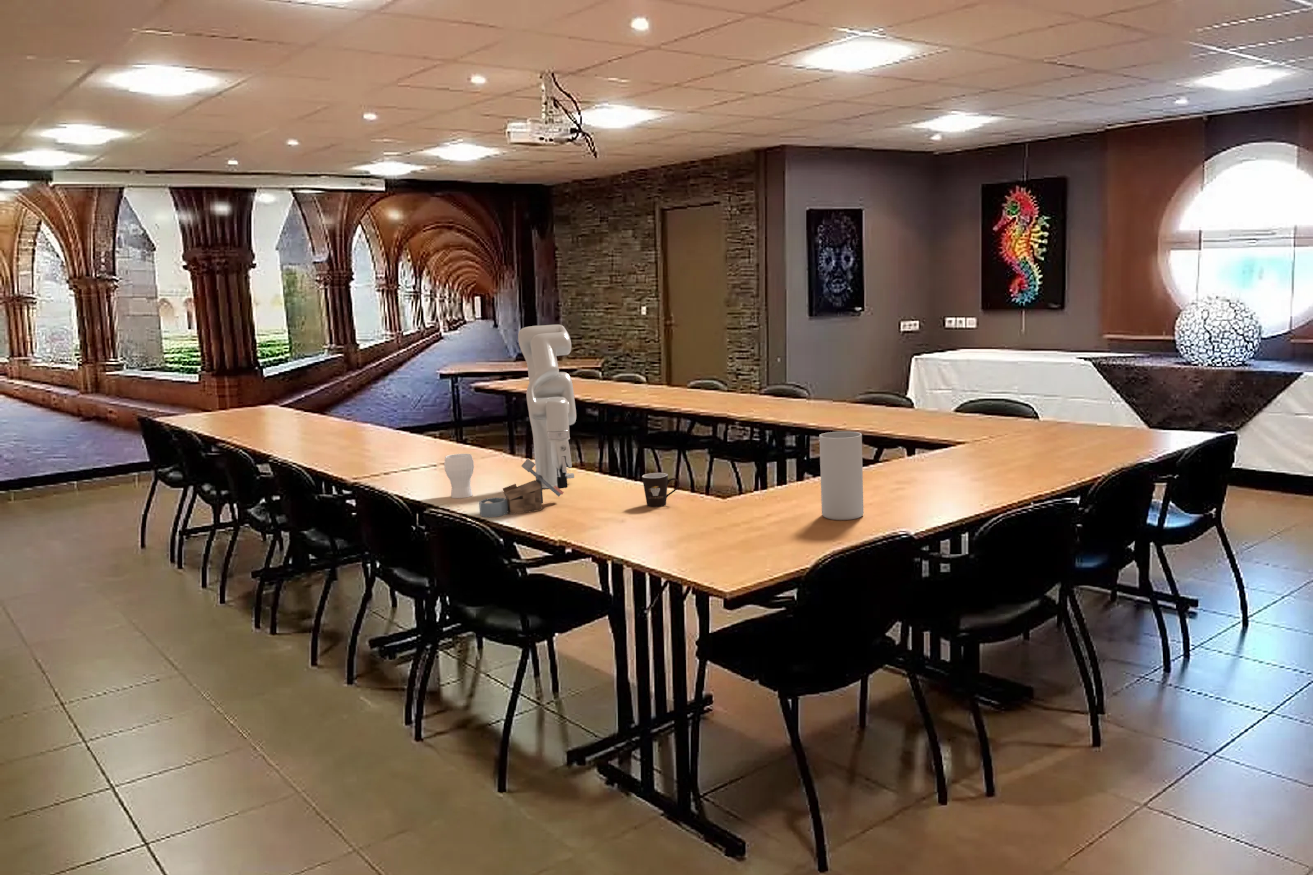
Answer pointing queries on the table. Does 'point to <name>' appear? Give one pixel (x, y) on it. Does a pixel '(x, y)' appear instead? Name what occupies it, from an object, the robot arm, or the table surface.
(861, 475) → the cylinder vase
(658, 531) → the table surface
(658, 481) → the coffee mug
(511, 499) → the cardboard box
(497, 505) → the pot
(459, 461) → the cup
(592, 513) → the table surface
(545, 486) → the robot arm
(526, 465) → the lever
